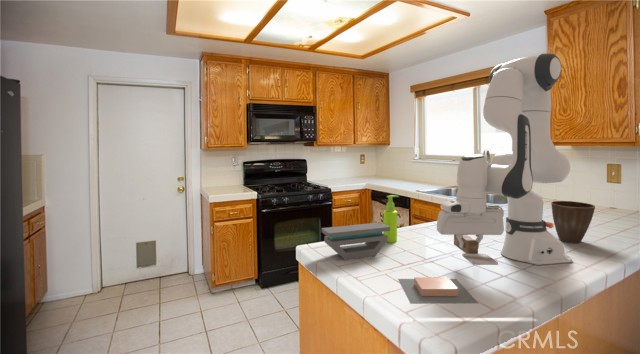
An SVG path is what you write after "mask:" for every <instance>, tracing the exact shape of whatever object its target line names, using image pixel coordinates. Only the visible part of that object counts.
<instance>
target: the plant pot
mask: <svg viewBox="0 0 640 354" xmlns="http://www.w3.org/2000/svg"><path fill="white" fill-rule="evenodd" d="M550 205H551V212H552V219H553V224H554V228H555V231H556V234H557V238H558V239H559V240H560V241H561V242H565V243H568V244H580V243H581V242H582V240H583V239H584V237H585V235H586V234H587V231H588V229H589V228H590V225H591V222H592V220H593V217H594V213H595V210H596V206H595V205H594V204H591V203H587V202H581V201H572V200H555V201H551V204H550Z"/></svg>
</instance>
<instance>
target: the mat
mask: <svg viewBox="0 0 640 354" xmlns="http://www.w3.org/2000/svg"><path fill="white" fill-rule="evenodd" d="M449 279H450V280H451V281H452V282H453V284H454V285H455V286H456V287H457V288H458V296H421V294H420V292H419V291H418V289H417V288H416V286H415V284H414V278H397V281H398V282H399V284H400V286H401V288H402V289H403V292H404V293H405V295H406V298H407V299H408V301H409V303H410V305H412V304H415V305H416V304H418V305H419V304H425V305H426V304H479V301H478V300H477V299H476V298H475V297H474V296H473V295H472V294H471V293H470V292H469V290H467V289H466V288H465V287H464V285H463V284H462V283H460V281H459V280H458V279H457V278H449Z"/></svg>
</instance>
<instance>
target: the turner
mask: <svg viewBox="0 0 640 354" xmlns="http://www.w3.org/2000/svg"><path fill="white" fill-rule="evenodd" d="M461 239H462V241H463V242H465V243H466V248H460V246H459V244H460V242H459V240H458V238H457V237H456V235H453V245H454V246H456V247H457V248H458V249H459V250H460V251H462V257H463V259H465V260H467V261H468V262H469V263H470V264H472V265H473V266H474V265H475V266H498V265H499V261H497V260H495V258H492V257H491V256H490V255H488V254H486V253H479V248H478V242H477V241H476V239H474V238H472V237H470V235H463V238H461ZM463 252H464V253H463Z"/></svg>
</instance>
